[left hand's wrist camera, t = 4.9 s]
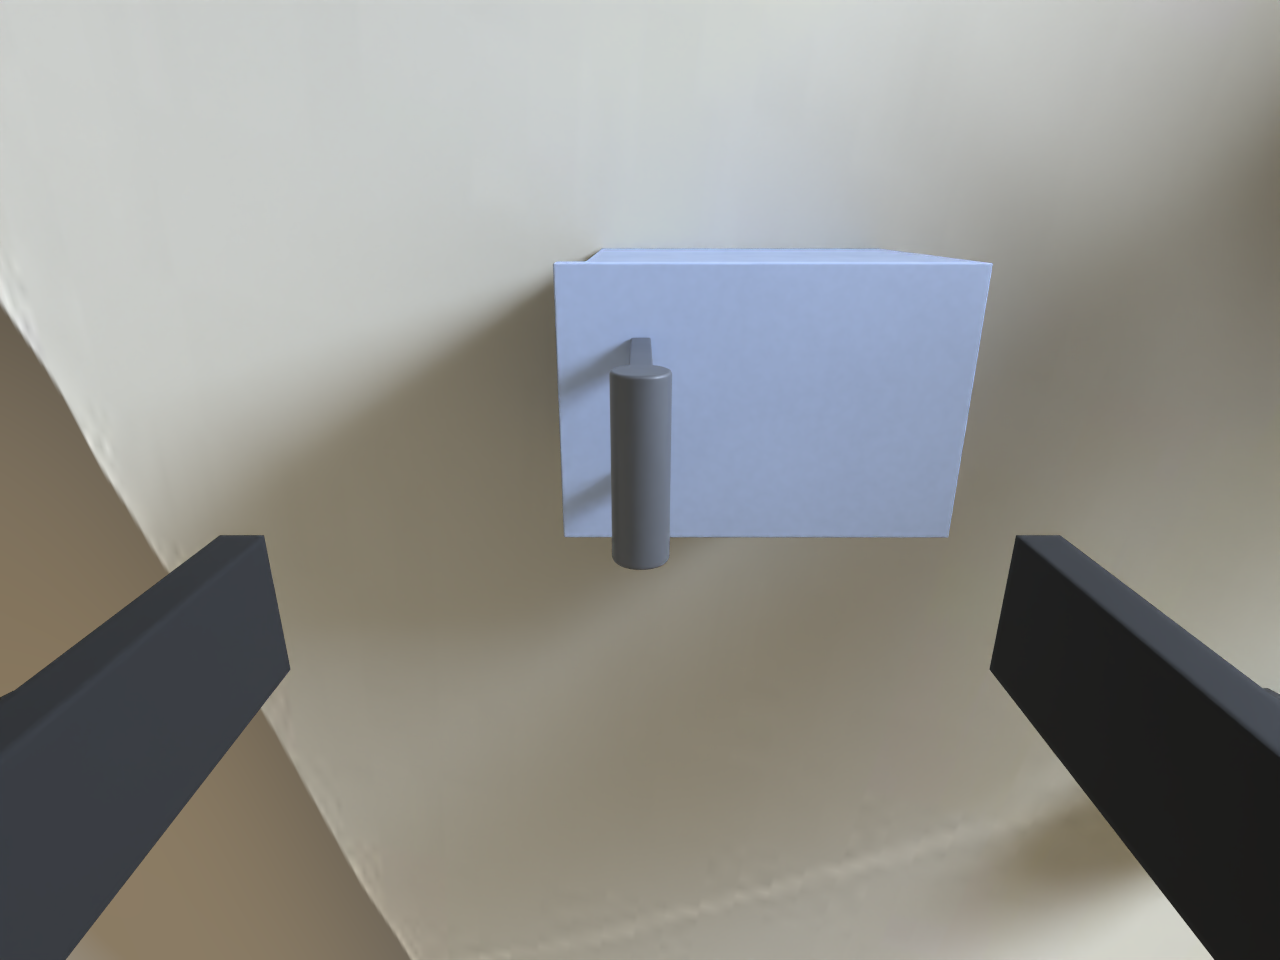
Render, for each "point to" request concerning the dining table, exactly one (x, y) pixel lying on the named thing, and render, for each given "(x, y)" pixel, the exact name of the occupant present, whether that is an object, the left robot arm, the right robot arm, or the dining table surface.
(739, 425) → the lid
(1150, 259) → the dining table surface
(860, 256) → the chest
